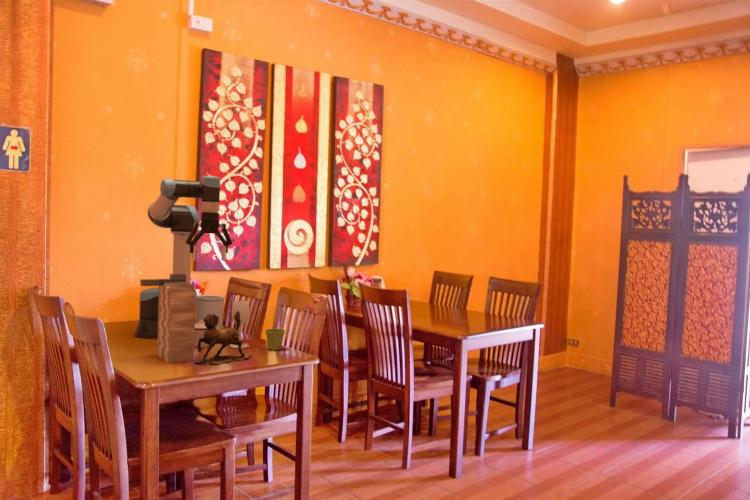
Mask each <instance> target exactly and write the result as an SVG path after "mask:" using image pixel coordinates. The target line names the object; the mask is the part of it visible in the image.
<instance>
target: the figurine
mask: <svg viewBox="0 0 750 500" xmlns="http://www.w3.org/2000/svg"><path fill="white" fill-rule="evenodd" d="M234 318H235V321H236V323H237V324H236V323H235V324H236V326H235V327H227V328H222V329H221V330H216V328H215V327H216V326H217V324H218V321H219V316H216V315H215V314H210V313H209V314H207V316H206V317H205V318H204V319H203V321H204V322H205V326H206V330H205V332H204V338H202V337H201V338H199V342H198V345H197V346H198V348H197V351H198V353H200V352H202V348H200V347H201V342H204V343H206V344H209V347H207V348H206V349H207V350H206V351H205V352H204V355H203V357H202V359H200V360H195V361H194V364H195V365H212V366H217V365H221V364H229V363H231V362H240V361H246V360H250V359H251V358H252V354H245V352H244V351H243V348H241V346H242V343H243V342H244V340H243V339H241V340H239V327H240V324H241V322H240V312H239V311H237V312H236V314H235V316H234ZM232 344H233V345H238V347H239V348H238V352H239V354H238V355H232V354H229V355H225V354H224V355H223V354H221V353H222V352H223V350H224V349H225V348H226V347H227V346H229V345H232ZM216 345H221V346H220V348H219V349H218V350H217V352H216V354H214V355H213V356H210V357H209V358H207V357H208V354H209V353H210V351H211V350H212V348H214V347H215V346H216Z"/></svg>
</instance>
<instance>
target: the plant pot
mask: <svg viewBox="0 0 750 500" xmlns="http://www.w3.org/2000/svg"><path fill="white" fill-rule="evenodd" d="M264 332H265V334H266V341H267V349H268V350H271V351H276V350H277V351H279V350H282V348H283V343H284V336H285V332H286V329H284V328H267V329H265V330H264Z"/></svg>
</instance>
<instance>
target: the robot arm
mask: <svg viewBox="0 0 750 500" xmlns="http://www.w3.org/2000/svg"><path fill="white" fill-rule="evenodd" d="M201 179H202V180H200V181H198V180H185V179H174V178H173V179H172V178H166V179H165V178H163V179H162V180H161V181H160V186H159V187H160V188H159V189H160V194H159V196H158V197H157V199H156V200H155V201H154V202H152V203H151V204H149V206H148V208H147V217H148V219H149V220H150V222H151V223H152V224H153V225H156V226H157V227H159V228H162V229H170V233H171V234H172V235H173V243H172V244H173V246H172V247H173V248H172V274H186V282H189V284H192V283H191V271H192V270H191V268H192V267H191V265H192V262H196V259H197V255H196V254H197V245H195V244H196V243H197V242H198V241H199V240H200V239H201V238H202V236H203V235H205V234H215V236H216V237H217V238H218V239H219V241H220V242H221V243H222V246H221V261H223V262H226V261H227V260H226V259H227V254H228V252H229V246H231V245H233V242H232V240H231V237H230V235H229V232H228V230H227V225H226V223H220V222H219V221H220V220H219V219H220V213H219V212H220V198H221V197H220V196H221V195H220V192H221V178H220V176H219V177H218V176H215V175H203V176H202V178H201ZM179 198H189V199H200V200H201V208H200V210H201V211H202V212H200V217H199V213H198V210H197V208H196V207H195V206H192V205H187V204H185V205H184V204H183V205H181V204H180V205H179V204H176V203H177V201H178V200H179ZM199 228H201V229H200V230H199V232H198V233H197V230H198V229H199ZM219 228H220V229H221V232H222V233H221V232H220V230H219ZM196 233H197V234H196ZM195 234H196V235H195ZM222 234H223V235H222ZM194 236H195V237H194ZM191 261H192V262H191ZM197 296H198V293H197V290H196V289H195V307H196V302H197ZM138 301H139V314H138V315H139V317H138V323H137V325H136V329H135V330H134V336H135V338H143V339H158V303H159V286H155V287H149V288H146V289H143V290H141V291H140V293H139V300H138Z"/></svg>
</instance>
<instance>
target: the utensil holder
mask: <svg viewBox="0 0 750 500" xmlns="http://www.w3.org/2000/svg"><path fill="white" fill-rule="evenodd" d="M224 305H225V296H224V295H219V294H200V295H199V294H197V302H196V306H195V324H197V323H199V321H203V319H204V318H205V317H206V316H207V314H209V313H210V314H215V315H216V316H219V321H218V324H217V326H216V327H215V328H216V330H223V324H224V323H223V322H224V321H223V320H224ZM203 323H205V322H204V321H203Z"/></svg>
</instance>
